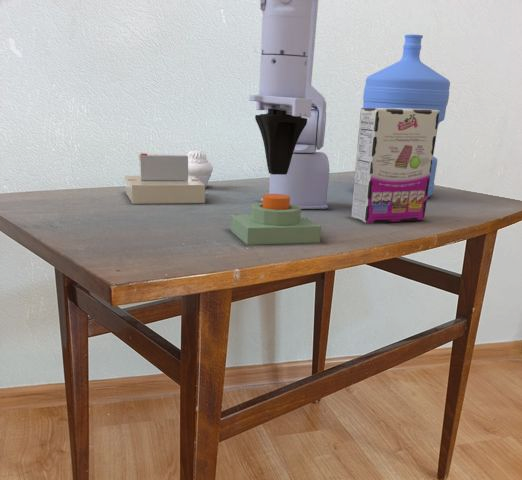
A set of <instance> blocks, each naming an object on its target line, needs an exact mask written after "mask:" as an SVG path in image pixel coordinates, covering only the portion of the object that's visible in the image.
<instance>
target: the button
mask: <svg viewBox="0 0 522 480" xmlns="http://www.w3.org/2000/svg"><path fill="white" fill-rule="evenodd" d="M262 198H263V202H262V201H261V202H262V208H266V209H273V210H287V209H289V208H290V196H288V195H283V194H269V193H265V194H262Z"/></svg>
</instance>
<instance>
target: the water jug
mask: <svg viewBox="0 0 522 480" xmlns="http://www.w3.org/2000/svg"><path fill="white" fill-rule="evenodd" d="M423 37H424V36H423V35H422V34H404V43H403V47H402V56H401V58H400V59H399V61H396V62H395V63H393V64H391V65H387V66H386V67H384V68H382V69H380V70H378V71H376V72H373V73H371V74H369V75H368V76H366V78H365V85H364V88H363V97H362V101H363V103H362V108H410V109H431V110H438V111H440V112H439V118H438V125H437V130H438V127H439V125H440V123H441V122H443V121H444V120H445V118H446V112H447V111H446V110H447V106H448V104H449V100H450V99H449V98H450V88H451V87H450V86H451V82H450V80H449V79H448V78H446V77H444V76H443V75H442V74H440V73H438V72H437V71H436V70H434V69H433V68H431V67H430V66H428V65H427V64H425V63H424V62H422V60H421V59H420V54H421V50H422V39H423ZM437 134H438V131H437V132H436V136H437ZM436 141H437V138H436V139H435V142H436ZM435 147H436V145H435V146H434V149H435ZM433 155H434V153H433ZM437 167H438V158H437V157H435V156H433V160H432V165H431V174H430V181H429V188H428V195H427V199H428V198H430V197H431V196H432V195H433V193H434V189H435V180H436V179H435V178H436V173H437ZM354 179H355V177H353V180H354Z"/></svg>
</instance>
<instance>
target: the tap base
mask: <svg viewBox="0 0 522 480" xmlns="http://www.w3.org/2000/svg"><path fill="white" fill-rule="evenodd" d="M199 180H200V179H196V178H195V177H193V176H188V180H140V175H124V181H125V182H124V183H125V194H126V196H127V197H128V199H129V200H130V203H132V205H147V204H148V205H150V204H153V205H154V204H155V205H156V204H157V205H158V204H160V205H161V204H163V205H164V204H205V203H206V187H205V185H204V184H203V183H202V182H200V181H199Z"/></svg>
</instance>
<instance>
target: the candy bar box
mask: <svg viewBox="0 0 522 480" xmlns="http://www.w3.org/2000/svg"><path fill="white" fill-rule="evenodd" d="M439 112H440V111H438V110H431V109H410V108H363V107H361V108H360V115H359V125H358V137H357V146H356V159H355V169H354V178H355V179H354V178H353V190H352V199H351V202H352V203H351V212H350V218H352V219H353V220H356V221H358V222H362V223H364V224H383V223H384V224H386V223H402V222H416V221H417V222H420V221H424V220H425V215H426V208H427V201H428V198H427V195H428V188H429V181H430V174H431V165H432V160H433V157H434V154H433V153H434V152H435V148H434V146H435V147H436V141H435V139H436V140H437V135H436V132H437V133H438V129H437V125H438V126H439V124H438V118H439Z"/></svg>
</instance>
